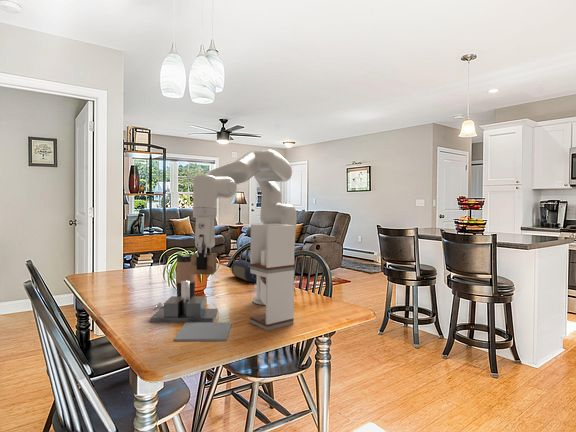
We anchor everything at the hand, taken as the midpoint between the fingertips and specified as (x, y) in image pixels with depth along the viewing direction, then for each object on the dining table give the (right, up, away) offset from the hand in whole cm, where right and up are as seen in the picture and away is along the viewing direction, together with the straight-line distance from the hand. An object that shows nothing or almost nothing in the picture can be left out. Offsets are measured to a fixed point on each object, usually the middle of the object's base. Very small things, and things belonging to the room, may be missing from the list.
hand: (204, 267), depth 123 cm
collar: (0, -2, 0) cm, 2 cm away
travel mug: (-16, -20, +38) cm, 46 cm away
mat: (0, -21, +1) cm, 22 cm away
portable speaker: (+4, -19, +86) cm, 88 cm away
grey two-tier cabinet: (+22, -22, +11) cm, 32 cm away
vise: (-11, -21, +17) cm, 29 cm away
